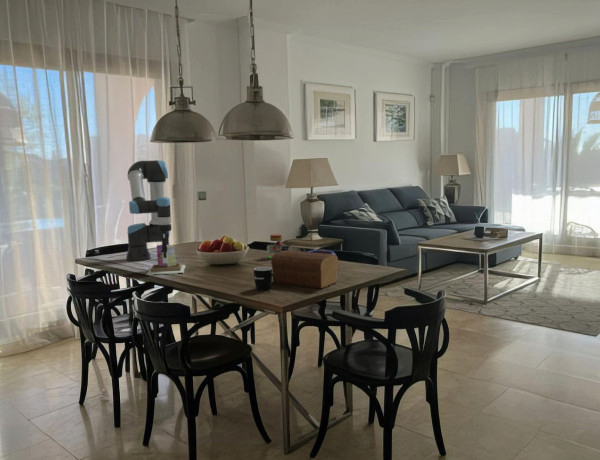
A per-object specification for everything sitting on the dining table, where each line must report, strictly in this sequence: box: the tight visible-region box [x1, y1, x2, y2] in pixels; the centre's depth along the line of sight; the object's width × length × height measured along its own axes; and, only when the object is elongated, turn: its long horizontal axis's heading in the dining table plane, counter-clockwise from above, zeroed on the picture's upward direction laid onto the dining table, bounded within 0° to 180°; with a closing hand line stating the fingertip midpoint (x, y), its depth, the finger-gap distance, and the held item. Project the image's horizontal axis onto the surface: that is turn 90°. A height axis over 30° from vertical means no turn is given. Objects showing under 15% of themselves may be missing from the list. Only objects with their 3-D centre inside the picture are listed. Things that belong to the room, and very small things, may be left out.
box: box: [156, 244, 177, 267], centre depth 302 cm, size 10×6×12 cm, turn 47°
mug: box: [253, 266, 276, 291], centre depth 254 cm, size 12×9×10 cm
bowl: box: [307, 249, 339, 259], centre depth 301 cm, size 18×18×10 cm
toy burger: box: [266, 233, 284, 260], centre depth 339 cm, size 12×13×15 cm
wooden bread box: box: [270, 249, 339, 289], centre depth 267 cm, size 18×30×16 cm, turn 57°
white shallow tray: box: [146, 262, 186, 276], centre depth 303 cm, size 22×20×3 cm
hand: (166, 261), depth 303 cm, fingers open, 11 cm apart
